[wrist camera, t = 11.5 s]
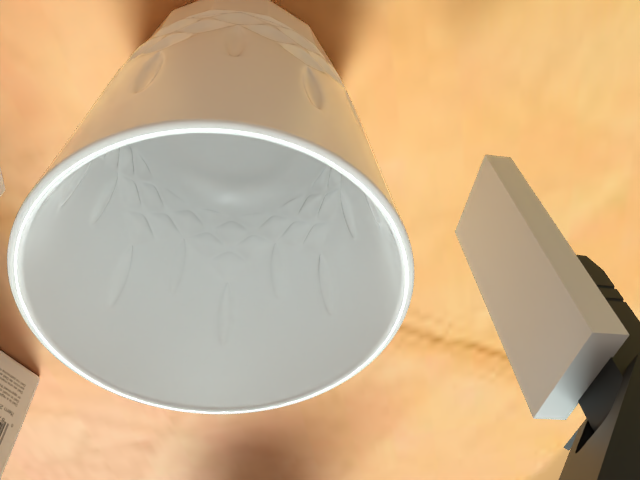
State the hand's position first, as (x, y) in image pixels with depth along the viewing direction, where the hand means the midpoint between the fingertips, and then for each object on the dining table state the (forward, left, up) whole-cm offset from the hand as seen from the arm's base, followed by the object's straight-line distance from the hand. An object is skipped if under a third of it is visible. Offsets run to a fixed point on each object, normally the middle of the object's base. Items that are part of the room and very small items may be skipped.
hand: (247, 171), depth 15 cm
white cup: (0, 0, -5) cm, 5 cm away
